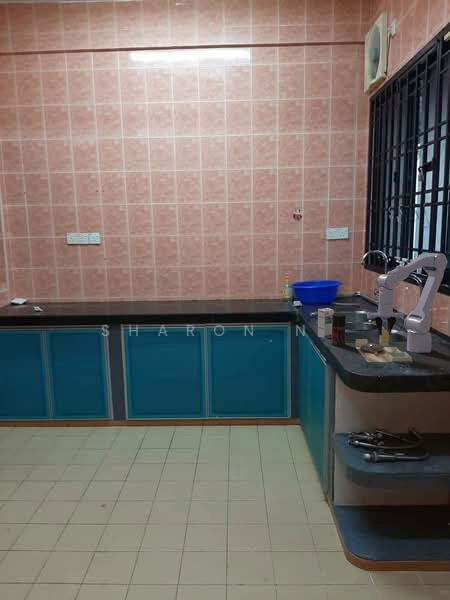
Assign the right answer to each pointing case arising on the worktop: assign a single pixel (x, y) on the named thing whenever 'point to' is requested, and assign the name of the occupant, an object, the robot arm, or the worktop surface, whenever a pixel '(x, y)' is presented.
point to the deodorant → (338, 329)
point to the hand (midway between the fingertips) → (384, 334)
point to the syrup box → (325, 322)
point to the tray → (399, 356)
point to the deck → (378, 355)
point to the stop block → (384, 338)
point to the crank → (369, 346)
